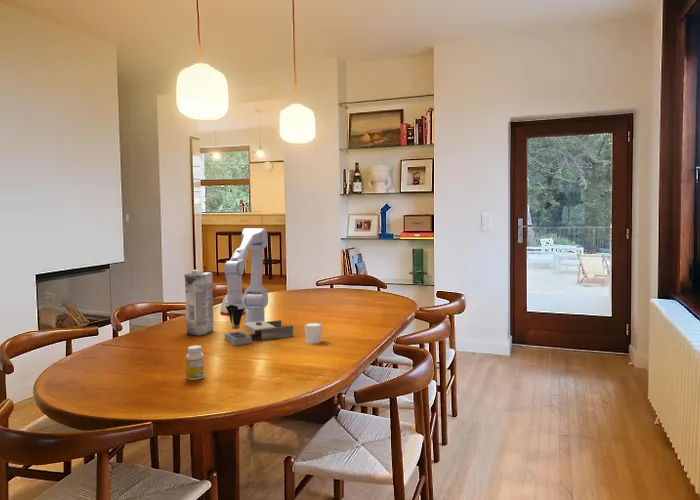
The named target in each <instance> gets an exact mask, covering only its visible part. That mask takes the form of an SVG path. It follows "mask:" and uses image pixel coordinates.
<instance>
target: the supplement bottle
mask: <svg viewBox="0 0 700 500" xmlns="http://www.w3.org/2000/svg"><path fill="white" fill-rule="evenodd" d="M187 352H188V353H187V354H186V355H185V368H186V369H185V371H186V373H185V374H186V379H188V380H190V381H196V380H201V379H204V378H205V354H204V353H203V352H202V345H199V344H198V345H190V346H188V347H187Z"/></svg>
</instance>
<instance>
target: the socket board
mask: <svg viewBox="0 0 700 500" xmlns="http://www.w3.org/2000/svg"><path fill="white" fill-rule="evenodd" d="M252 339H253V338H252V336H250V335H249V334H247V333H245V332H244V331H242V330H239V331H238V330H237V331H231V332H230V331H229V332H225V333H224V340H225V341H226V342H228V343H229V344H231V345H232V346H234V347H236V346H241V345H250V344H252V343H253V342H252Z"/></svg>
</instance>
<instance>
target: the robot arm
mask: <svg viewBox="0 0 700 500" xmlns="http://www.w3.org/2000/svg"><path fill="white" fill-rule="evenodd" d="M241 239H242V241H241V243H240V246H239V247H238V248H236V249H235V250H234V252H233V254H232V256H231V257H230V260H227V261H226V262H225V264H224V268H223V271H224V274H225V279H226V285H227V286H226V288H227V290H226V294H227V298H228V299H227V302H225V304H229V306H226V309H227V311H228V313H229V316H228V317H229V320H230V323H231V324H232V317H233V323H234V325H240V324H241V320H242V316H243V315H242V313H243V311H244V309H245V308H244V307H243V302H244V305H245V306H246V308H247V310H246V314H245V323H248V322H256V321H264V322H266V321H265V320H266V319H265V308H266V307H267V306H268V303H269V291H268V289H267V288H265V286H263V284H262V283H263V265H264V249H265V248H267V247H268V246H267V245H268V231H267V230H266V228H264V227H263V228H261V227H259V228H255V227H254V228H253V227H252V228H251V227H250V228H249V227H248V228H247V227H245V228H243V230H242V232H241ZM250 249H251V270H250V285H249V286H248V287H247V288H245V289H244V295H243V281H242V280H243V279H242V275H243V274H244V272H245V266H246V265H245V263H246V262H247V260H248V257H249V253H248V252H249V251H250ZM242 295H243V296H244V298H243V301H242ZM240 326H241V325H240ZM243 326H244V327H245V325H243Z"/></svg>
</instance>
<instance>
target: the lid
mask: <svg viewBox="0 0 700 500" xmlns="http://www.w3.org/2000/svg"><path fill="white" fill-rule="evenodd" d="M266 322H267V321H265V322H264V321H256V322H248V323H246V322H243V324H242V325H243V326H244V325H245V326H244V330H246V331H248V332H249V333H250V334H251V333H253V335H256V334H255V330H263V329H270V328H275V326H273V325H271V324H269V323H266Z"/></svg>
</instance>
